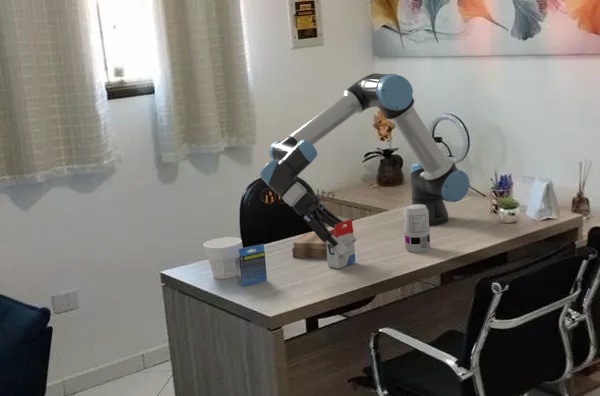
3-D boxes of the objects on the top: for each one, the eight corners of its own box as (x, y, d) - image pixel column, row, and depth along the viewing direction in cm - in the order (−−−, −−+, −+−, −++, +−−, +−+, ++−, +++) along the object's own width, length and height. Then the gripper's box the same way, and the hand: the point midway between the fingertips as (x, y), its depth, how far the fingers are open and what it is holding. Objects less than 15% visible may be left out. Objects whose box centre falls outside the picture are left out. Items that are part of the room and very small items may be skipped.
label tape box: (262, 278, 256) (258, 240, 254) (267, 281, 253) (264, 243, 250) (236, 284, 252) (233, 246, 250) (242, 287, 249) (238, 249, 246)
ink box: (344, 259, 267) (341, 216, 264) (356, 262, 264) (353, 218, 260) (327, 266, 261) (323, 222, 258) (338, 269, 258) (335, 224, 255)
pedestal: (340, 247, 283) (339, 233, 281) (329, 258, 271) (327, 244, 270) (305, 246, 287) (304, 232, 286) (292, 257, 275) (291, 243, 274)
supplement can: (400, 251, 272) (398, 208, 269) (414, 245, 278) (412, 202, 275) (420, 254, 267) (418, 210, 263) (434, 248, 272) (432, 205, 269)
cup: (213, 283, 254) (210, 250, 252) (202, 273, 266) (198, 241, 263) (250, 276, 259) (247, 243, 257) (237, 266, 270) (234, 234, 268)
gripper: (304, 199, 274) (352, 245, 272) (280, 215, 254) (331, 265, 252) (317, 183, 271) (366, 230, 269) (294, 199, 251) (346, 249, 249)
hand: (349, 247), depth 260 cm, fingers closed on ink box, 9 cm apart
